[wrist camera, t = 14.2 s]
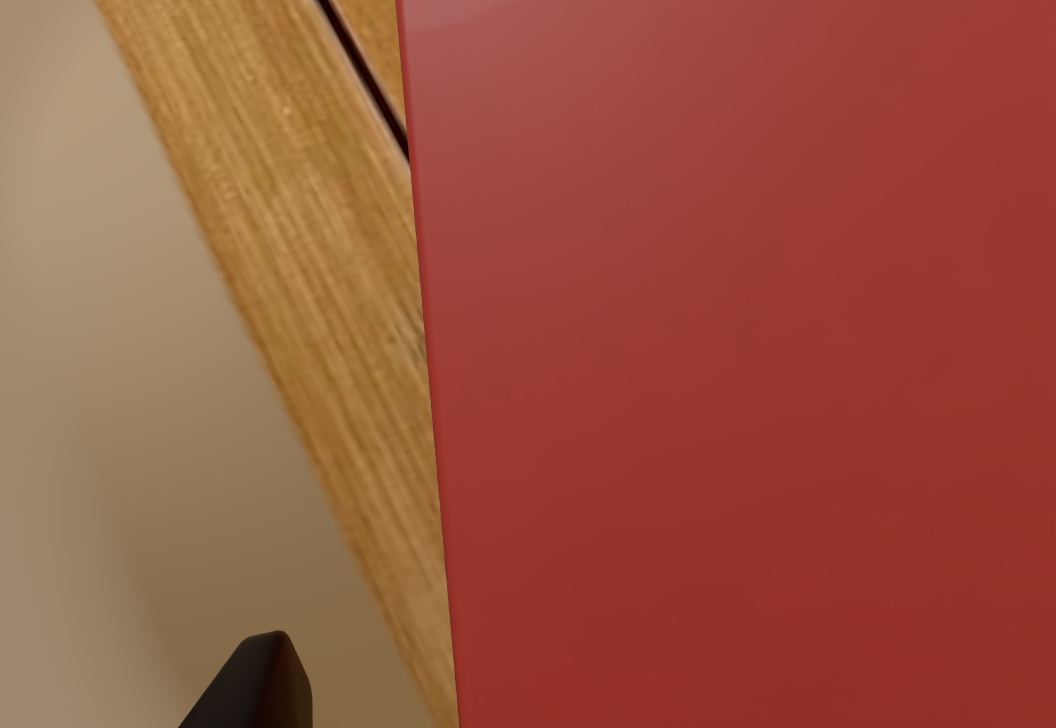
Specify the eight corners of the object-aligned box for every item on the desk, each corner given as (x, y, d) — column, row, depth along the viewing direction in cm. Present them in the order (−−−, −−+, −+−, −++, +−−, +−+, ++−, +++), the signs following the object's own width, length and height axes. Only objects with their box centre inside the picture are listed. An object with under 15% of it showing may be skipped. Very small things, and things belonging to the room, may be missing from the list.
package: (776, 590, 16) (1643, 681, 3) (528, 620, 16) (465, 821, 3) (724, 305, 17) (1188, -368, 5) (495, 332, 17) (369, -279, 5)
